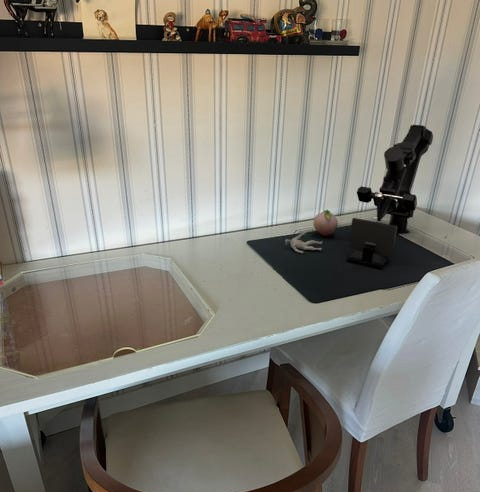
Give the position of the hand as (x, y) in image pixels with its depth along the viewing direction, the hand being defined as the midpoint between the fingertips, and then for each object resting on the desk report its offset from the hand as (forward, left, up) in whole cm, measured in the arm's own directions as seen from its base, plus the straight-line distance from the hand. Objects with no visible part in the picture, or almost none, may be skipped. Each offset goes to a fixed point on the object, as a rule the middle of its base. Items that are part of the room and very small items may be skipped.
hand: (378, 220), depth 157 cm
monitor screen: (+3, -4, -9) cm, 10 cm away
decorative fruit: (-21, -7, -12) cm, 26 cm away
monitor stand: (+3, -4, -12) cm, 13 cm away
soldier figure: (-11, -20, -12) cm, 26 cm away
